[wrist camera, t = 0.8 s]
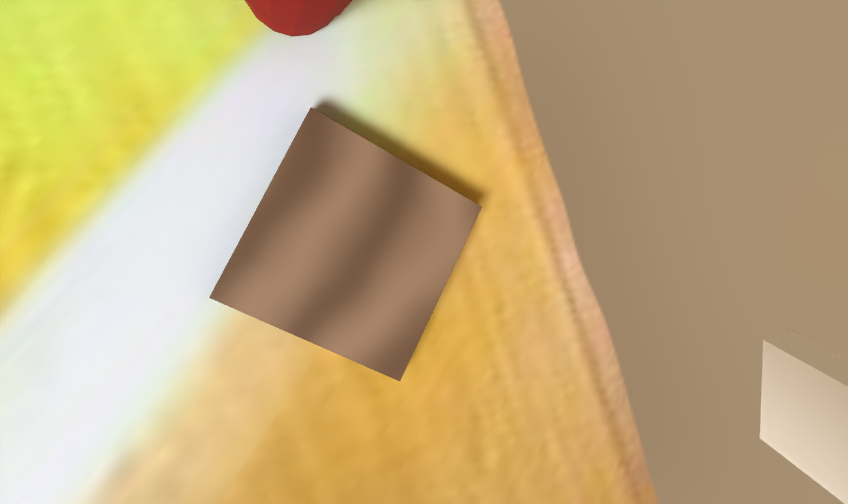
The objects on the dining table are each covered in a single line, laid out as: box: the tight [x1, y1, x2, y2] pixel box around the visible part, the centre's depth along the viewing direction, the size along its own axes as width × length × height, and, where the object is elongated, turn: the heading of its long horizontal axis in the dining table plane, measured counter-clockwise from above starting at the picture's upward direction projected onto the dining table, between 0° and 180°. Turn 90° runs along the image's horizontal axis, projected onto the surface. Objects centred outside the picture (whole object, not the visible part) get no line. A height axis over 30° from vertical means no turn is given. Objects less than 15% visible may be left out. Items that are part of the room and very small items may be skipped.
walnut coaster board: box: [209, 108, 482, 381], centre depth 34 cm, size 13×13×2 cm
